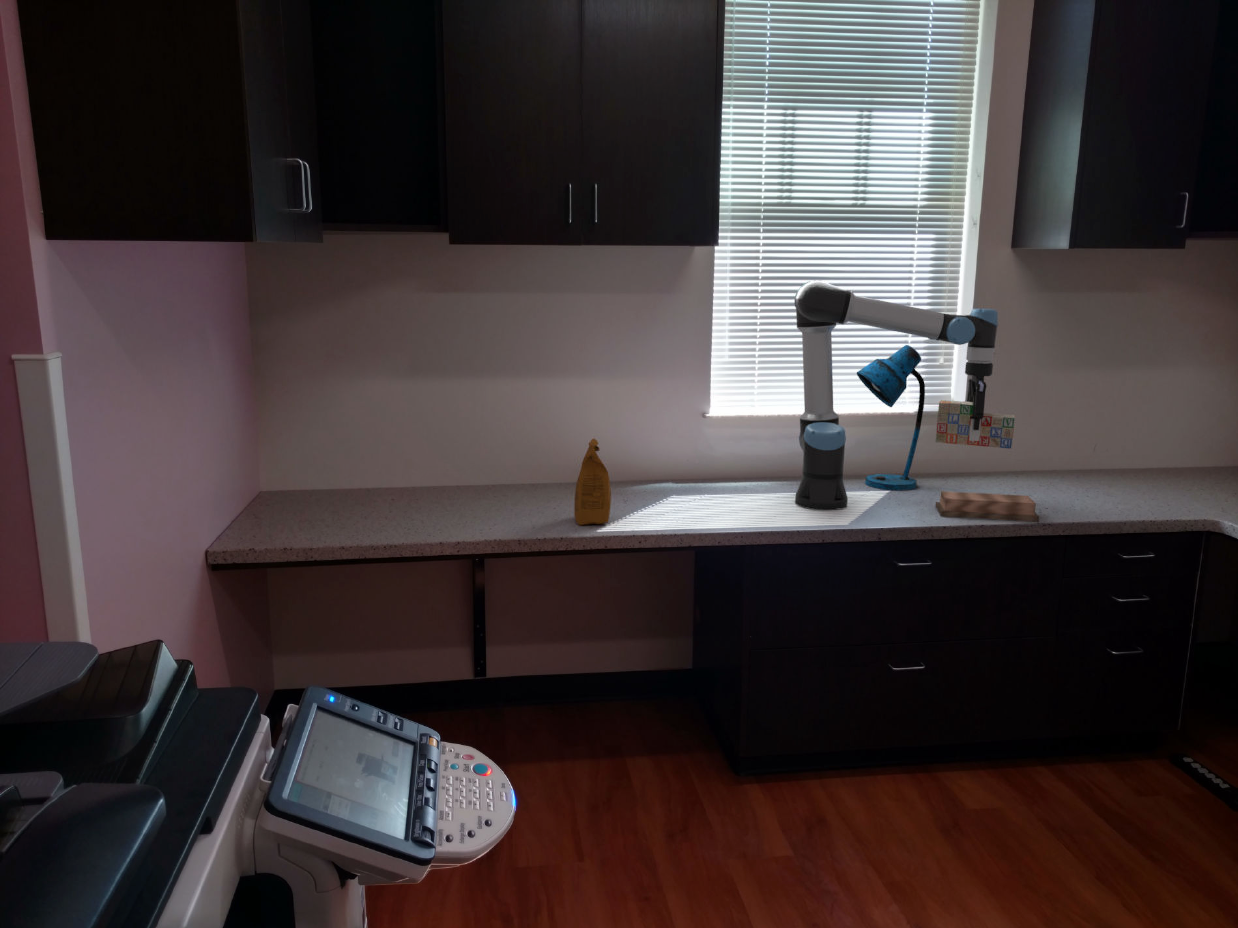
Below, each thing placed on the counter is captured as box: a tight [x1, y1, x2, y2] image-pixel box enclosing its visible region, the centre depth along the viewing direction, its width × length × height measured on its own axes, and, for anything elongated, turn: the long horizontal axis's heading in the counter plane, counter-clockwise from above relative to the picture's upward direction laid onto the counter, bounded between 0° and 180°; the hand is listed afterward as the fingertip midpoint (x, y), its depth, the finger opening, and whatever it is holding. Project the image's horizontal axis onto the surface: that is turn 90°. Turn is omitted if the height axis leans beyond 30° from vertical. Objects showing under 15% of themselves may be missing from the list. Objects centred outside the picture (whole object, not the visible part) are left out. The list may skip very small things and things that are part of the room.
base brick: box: [934, 490, 1040, 523], centre depth 266 cm, size 26×11×5 cm, turn 80°
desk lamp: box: [856, 344, 926, 491], centre depth 297 cm, size 16×22×45 cm
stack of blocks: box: [935, 399, 1016, 449], centre depth 278 cm, size 21×6×12 cm, turn 66°
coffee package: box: [573, 437, 612, 526], centre depth 252 cm, size 10×12×22 cm
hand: (971, 438), depth 279 cm, fingers closed on stack of blocks, 7 cm apart
